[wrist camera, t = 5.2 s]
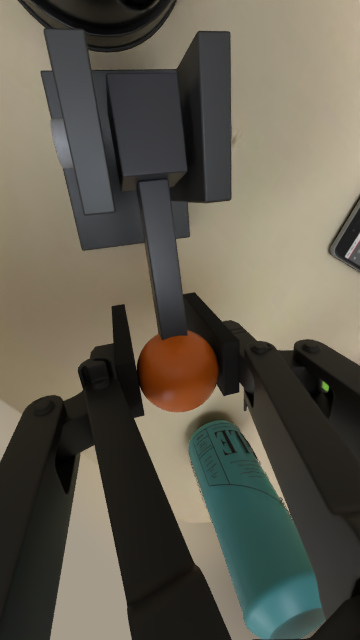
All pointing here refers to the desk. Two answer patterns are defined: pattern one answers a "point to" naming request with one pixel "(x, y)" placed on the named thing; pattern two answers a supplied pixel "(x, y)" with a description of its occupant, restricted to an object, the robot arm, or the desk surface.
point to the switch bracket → (97, 147)
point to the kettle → (103, 18)
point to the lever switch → (159, 232)
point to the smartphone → (349, 241)
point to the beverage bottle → (255, 536)
